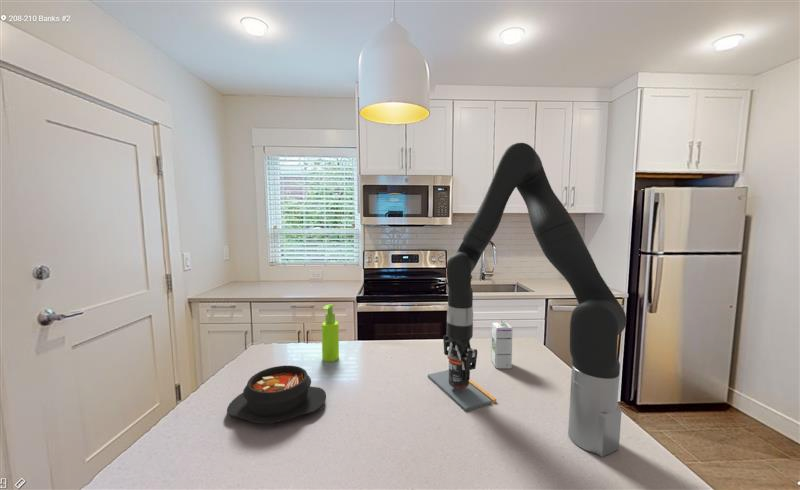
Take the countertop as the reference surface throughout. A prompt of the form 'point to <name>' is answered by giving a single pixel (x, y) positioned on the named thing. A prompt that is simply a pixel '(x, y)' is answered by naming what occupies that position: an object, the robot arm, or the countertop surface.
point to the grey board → (462, 392)
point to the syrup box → (501, 345)
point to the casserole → (277, 396)
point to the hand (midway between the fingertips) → (458, 375)
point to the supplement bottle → (456, 371)
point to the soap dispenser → (330, 336)
